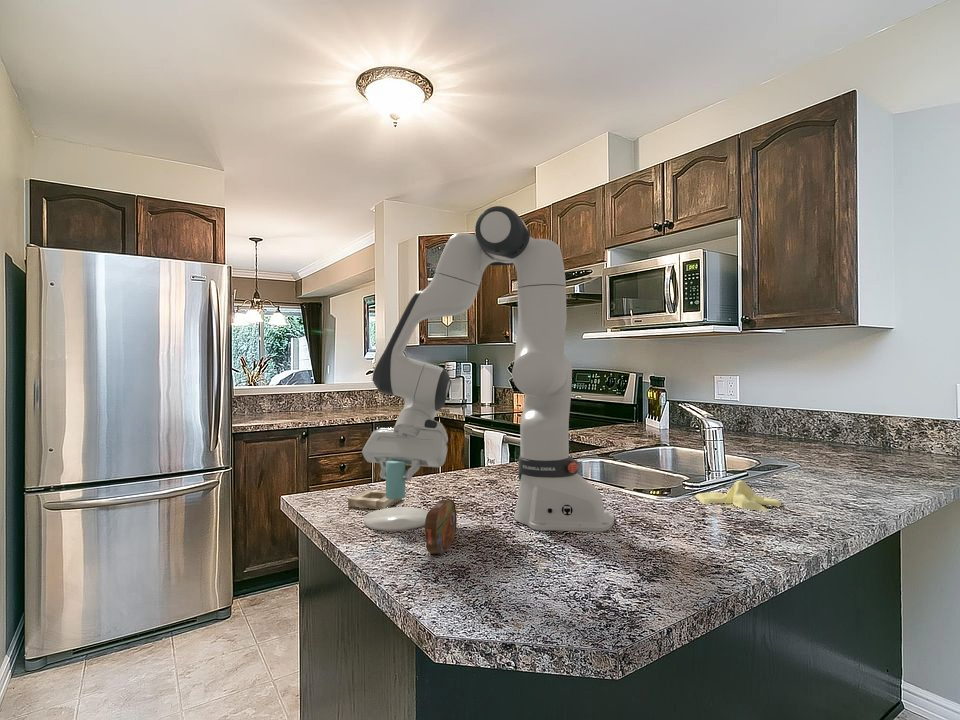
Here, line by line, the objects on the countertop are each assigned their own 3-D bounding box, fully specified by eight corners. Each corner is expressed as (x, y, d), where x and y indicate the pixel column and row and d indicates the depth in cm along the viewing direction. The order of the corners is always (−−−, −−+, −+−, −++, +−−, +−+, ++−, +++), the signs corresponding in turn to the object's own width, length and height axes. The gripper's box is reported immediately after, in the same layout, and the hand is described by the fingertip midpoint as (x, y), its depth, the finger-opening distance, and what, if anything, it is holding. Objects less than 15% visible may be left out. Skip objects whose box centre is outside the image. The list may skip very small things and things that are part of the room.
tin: (438, 561, 101) (438, 515, 101) (422, 560, 102) (421, 514, 102) (458, 534, 116) (457, 494, 116) (443, 534, 117) (443, 494, 117)
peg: (408, 495, 128) (408, 460, 128) (400, 500, 124) (400, 464, 124) (391, 493, 129) (391, 459, 129) (382, 498, 125) (382, 463, 125)
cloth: (681, 500, 144) (681, 476, 144) (729, 491, 152) (729, 469, 152) (759, 523, 124) (759, 495, 124) (810, 511, 132) (809, 486, 132)
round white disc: (440, 514, 131) (440, 509, 131) (413, 533, 117) (413, 528, 117) (383, 509, 136) (383, 505, 136) (351, 527, 121) (351, 522, 121)
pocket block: (402, 499, 145) (402, 492, 145) (384, 509, 135) (384, 501, 135) (368, 497, 148) (367, 489, 148) (348, 506, 138) (348, 498, 138)
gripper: (370, 419, 136) (349, 467, 127) (448, 423, 130) (431, 473, 121) (378, 435, 140) (358, 482, 131) (454, 439, 134) (439, 489, 125)
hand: (394, 478), depth 126 cm, fingers closed on peg, 4 cm apart
